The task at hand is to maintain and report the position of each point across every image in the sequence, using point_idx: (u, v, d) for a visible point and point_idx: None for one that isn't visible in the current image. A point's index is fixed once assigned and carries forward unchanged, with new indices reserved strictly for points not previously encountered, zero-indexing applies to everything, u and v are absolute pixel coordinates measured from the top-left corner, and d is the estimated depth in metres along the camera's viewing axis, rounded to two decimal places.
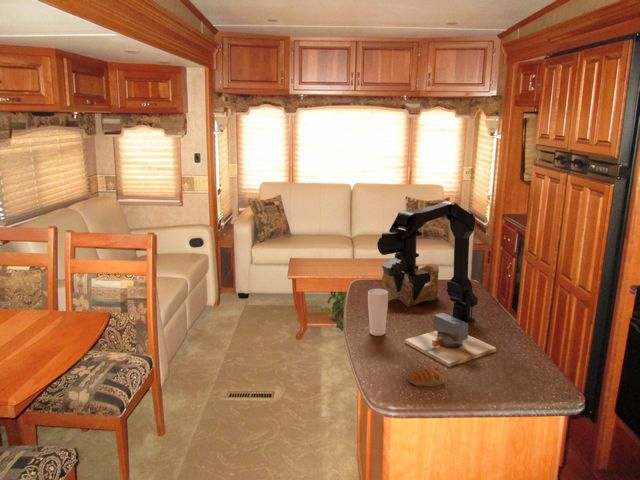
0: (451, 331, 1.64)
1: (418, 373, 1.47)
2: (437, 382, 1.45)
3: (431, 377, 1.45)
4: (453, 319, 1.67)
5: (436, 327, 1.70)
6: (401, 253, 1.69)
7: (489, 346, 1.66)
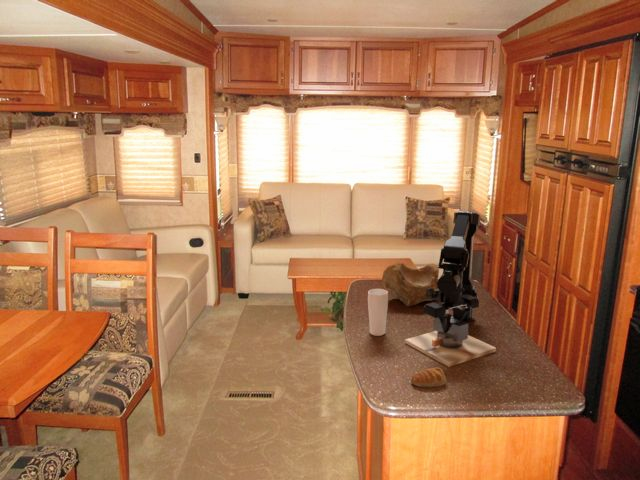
0: (451, 331, 1.64)
1: (420, 374, 1.46)
2: (439, 383, 1.45)
3: (433, 378, 1.44)
4: (453, 319, 1.67)
5: (436, 327, 1.70)
6: None
7: (489, 346, 1.66)
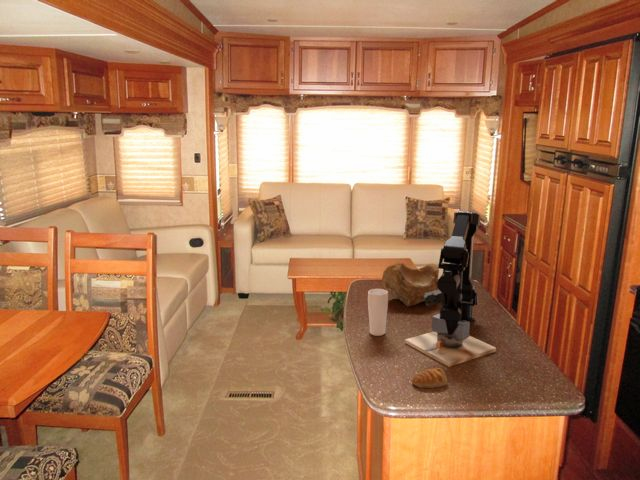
0: (454, 331, 1.64)
1: (421, 375, 1.46)
2: (440, 384, 1.44)
3: (434, 379, 1.44)
4: None
5: (435, 328, 1.69)
6: None
7: (489, 346, 1.66)
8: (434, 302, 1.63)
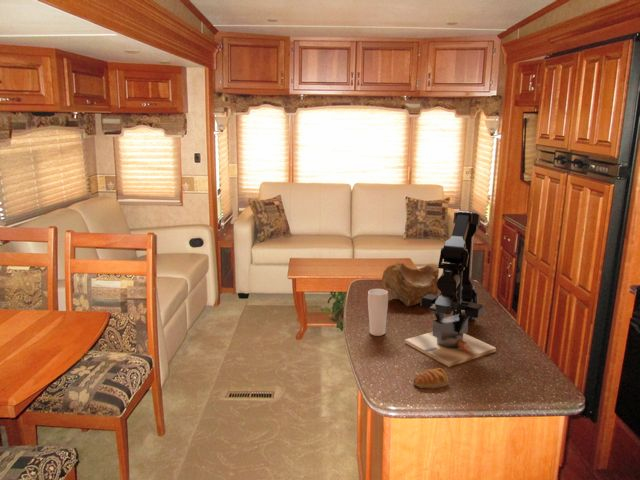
0: None
1: (422, 375, 1.45)
2: (442, 384, 1.44)
3: (435, 379, 1.43)
4: (451, 318, 1.68)
5: (444, 335, 1.64)
6: None
7: (489, 346, 1.66)
8: (459, 306, 1.59)
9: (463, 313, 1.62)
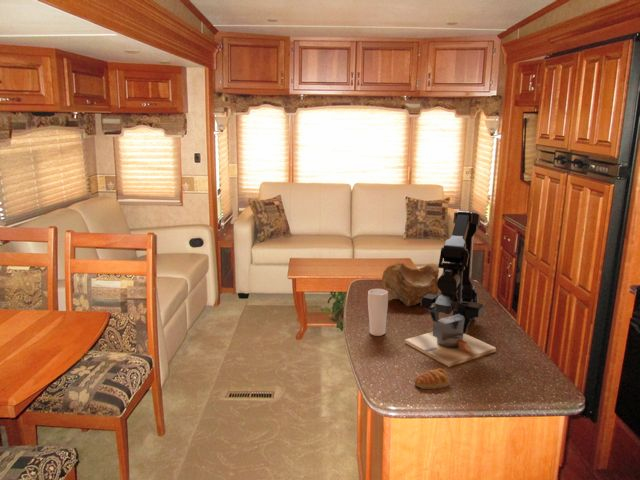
0: (460, 327, 1.67)
1: (424, 376, 1.45)
2: (443, 384, 1.44)
3: (437, 379, 1.43)
4: (451, 318, 1.68)
5: (445, 335, 1.64)
6: None
7: (489, 346, 1.66)
8: (459, 306, 1.59)
9: None
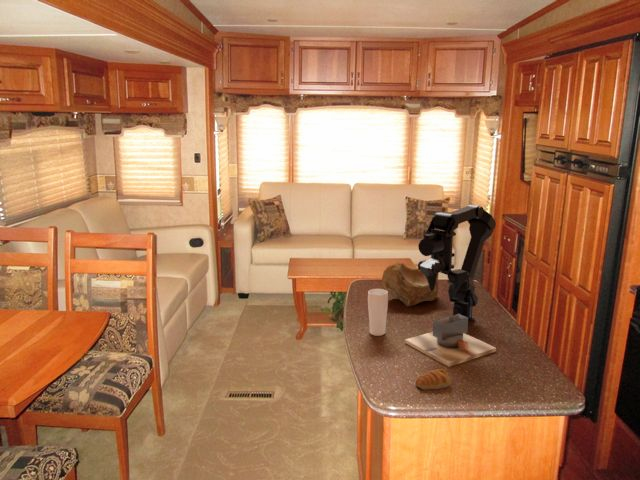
0: (460, 327, 1.67)
1: (425, 376, 1.45)
2: (444, 385, 1.44)
3: (438, 380, 1.43)
4: (451, 318, 1.68)
5: (445, 335, 1.64)
6: (438, 253, 1.74)
7: (489, 346, 1.66)
8: (440, 270, 1.71)
9: None
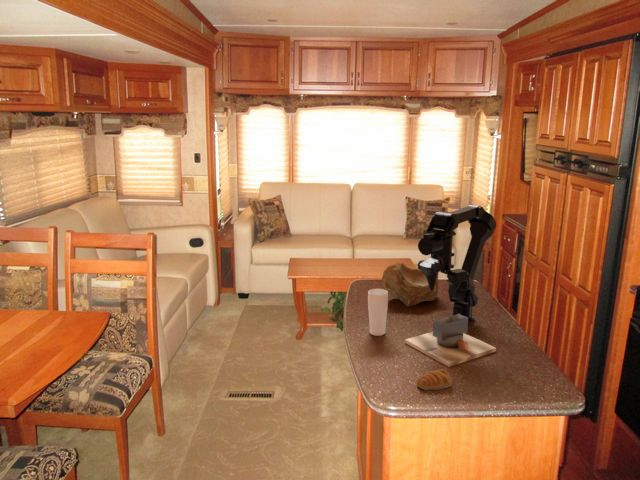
0: (460, 327, 1.67)
1: (426, 377, 1.44)
2: (445, 385, 1.44)
3: (439, 380, 1.43)
4: (451, 318, 1.68)
5: (445, 335, 1.64)
6: (438, 253, 1.74)
7: (489, 346, 1.66)
8: (440, 269, 1.71)
9: None
